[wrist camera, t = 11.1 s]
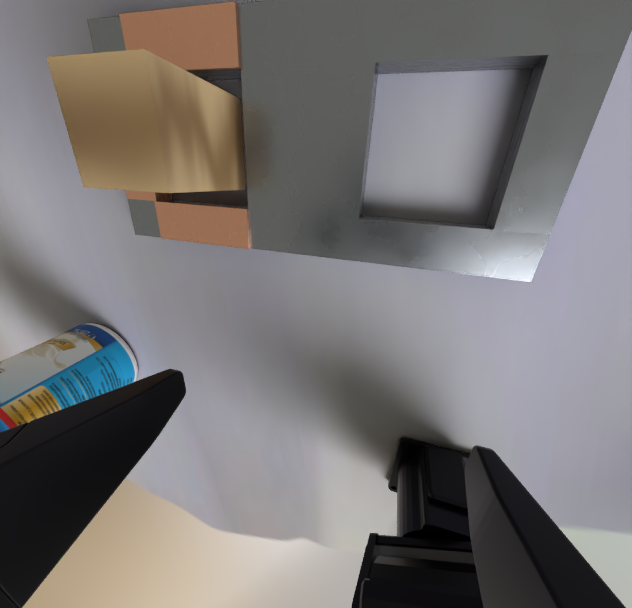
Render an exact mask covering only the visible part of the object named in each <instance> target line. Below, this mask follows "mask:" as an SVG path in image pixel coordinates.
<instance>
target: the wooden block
mask: <svg viewBox="0 0 632 608" xmlns="http://www.w3.org/2000/svg"><path fill="white" fill-rule="evenodd" d="M46 58H47V61H48V64H49V68H50V71H51V75H52V78H53V82H54V85H55V89H56V92H57V96H58V99H59V103H60V106H61V110H62V113H63V117H64V120H65V124H66V127H67V131H68V134H69V138H70V141H71V145H72V148H73V152H74V155H75V159H76V162H77V166H78V169H79V173H80V176H81V180H82V183H83V187H86V188H100V189H115V190H130V191H144V192H159V193H184V192H205V191H227V190H246V181H245V164H244V147H243V130H242V113H241V99H239V98H238V97H236V96H234V95H232V94H230V93H228V92H226V91H224V90H222V89H220V88H218V87H216V86H214V85H213V84H211V83H209V82H207V81H205V80H203V79H201V78H199V77H197V76H195V75H193V74H191V73H189V72H187V71H186V70H184V69H182V68H180V67H178V66H176V65H174V64H172V63H170V62H168V61H166V60H164V59H162V58H161V57H159V56H157V55H155V54H153V53H151V52H149V51H147V50H145V49H139V50H126V51H114V52H101V53H88V54H76V55H63V56H51V57H46Z"/></svg>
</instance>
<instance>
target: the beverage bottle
mask: <svg viewBox="0 0 632 608" xmlns="http://www.w3.org/2000/svg"><path fill="white" fill-rule="evenodd" d="M137 375H138V366H137V362H136V359H135V356H134V354H133V352H132V351H131V349H130V348H129V346H128V345H127V344H126V342H125V341H124V340H123V339H122V338H121V337H120V336H119V335H117V334H116V333H115V332H113V331H112V330H110V329H108V328H107V327H104V326H102V325H99V324H94V323H86V324H82V325H79V326H77V327H75V328H72V329H70V330H69V331H67V332H65V333H63V334H61V335H59V336H57V337H55V338H53V339H51V340H48V341H46V342H44V343H42V344H39V345H37V346H35V347H33V348H30V349H28V350H26V351H23V352H21V353H19V354H17V355H14V356H12V357H10V358H8V359H5V360H3V361H1V362H0V432H3V431H5V430H8V429H11V428H13V427H16V426H19V425H21V424H24V423H29V422H30V421H32V420H35V419H37V418H40V417H43V416H45V415H48V414H51V413H53V412H56V411H59V410H61V409H64V408H67V407H69V406H72V405H75V404H77V403H80V402H83V401H85V400H88V399H91V398H93V397H96V396H99V395H101V394H104V393H107V392H109V391H112V390H115V389H117V388H120V387H123V386H125V385H128V384H131V383H133V382H135V380H136V378H137Z"/></svg>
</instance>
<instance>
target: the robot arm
mask: <svg viewBox="0 0 632 608" xmlns="http://www.w3.org/2000/svg"><path fill="white" fill-rule="evenodd" d="M185 393H186V387H185V382H184V377H183V373H182V372H181V371H178V370H174V369H168V370H165V371H162V372H160V373H157V374H154V375H152V376H149V377H147V378H144V379H141V380H139V381H136V382H133V383H131V384H128V385H125V386H123V387H120V388H117V389H115V390H112V391H109V392H107V393H104V394H101V395H99V396H96V397H93V398H91V399H88V400H85V401H83V402H80V403H77V404H75V405H72V406H69V407H67V408H64V409H61V410H59V411H56V412H53V413H51V414H48V415H45V416H43V417H40V418H37V419H35V420H32V421H30V422H29V423H24V424H21V425H19V426H16V427H13V428H11V429H8V430H5V431H3V432H0V608H22V607H23V606H24V605H25V603H26V602H27V601H28V599H29V598H30V597H31V596H32V595H33V593H34V592H35V591H36V590H37V588H38V587H39V586H40V584H41V583H42V582H43V581H44V579H45V578H46V577H47V575H48V574H49V573H50V572H51V571H52V569H53V568H54V567H55V566H56V564H57V563H58V562H59V560H60V559H61V558H62V557H63V555H64V554H65V553H66V552H67V551H68V549H69V548H70V547H71V546H72V544H73V543H74V542H75V541H76V539H77V538H78V537H79V535H80V534H81V533H82V532H83V530H84V529H85V528H86V527H87V525H88V524H89V523H90V522H91V520H92V519H93V518H94V517H95V515H96V514H97V513H98V512H99V510H100V509H101V508H102V506H103V505H104V504H105V503H106V502H107V500H108V499H109V498H110V496H111V495H112V494H113V493H114V491H115V490H116V489H117V488H118V486H119V485H120V484H121V483H122V481H123V480H124V479H125V478H126V476H127V475H128V474H129V473H130V471H131V470H132V469H133V468H134V466H135V465H136V464H137V463H138V461H139V460H140V459H141V458H142V456H143V455H144V454H145V453H146V451H147V450H148V449H149V448H150V446H151V445H152V444H153V442H154V441H155V440H156V438H157V437H158V436H159V434H160V433H161V431H162V430H163V428H164V427H165V425H166V424H167V422H168V421H169V419H170V418H171V416H172V415H173V413H174V412H175V410H176V409H177V407H178V406H179V404H180V403H181V401H182V400H183V398H184V396H185ZM388 488H389V489H390V490H391V491H394V492H397V536H385V535H378V533H370V536H369V540H368V544H367V546H366V549H365V553H364V557H363V562H362V566H361V570H360V574H359V578H358V582H357V586H356V590H355V594H354V598H353V602H352V608H626V607H625V606H624V605H623V604H622V603H621V601H620V600H619V599H618V598H617V597H616V596H615V594H614V593H613V592H612V591H611V589H610V588H609V587H608V586H607V585H606V584H605V582H604V581H603V580H602V579H601V578H600V576H599V575H598V574H597V573H596V572H595V570H593V568H592V567H591V566H590V564H589V563H588V562H587V561H586V560H585V559H584V557H583V556H582V555H581V554H580V553H579V551H578V550H577V549H576V548H575V547H574V545H573V544H572V543H571V542H570V541H569V540H568V538H567V537H566V536H565V535H564V534H563V532H562V531H561V530H560V529H559V528H558V526H557V525H556V524H555V523H554V522H553V520H552V519H551V518H550V517H549V516H548V515H547V513H546V512H545V511H544V510H543V509H542V507H541V506H540V505H539V504H538V503H537V501H536V500H535V499H534V498H533V497H532V495H531V494H530V493H529V492H528V491H527V490H526V488H525V487H524V486H523V485H522V484H521V482H520V481H519V480H518V479H517V478H516V476H515V475H514V474H513V473H512V472H511V471H510V469H509V468H508V467H507V466H506V465H505V463H504V462H503V461H502V460H501V459H500V457H499V456H498V455H497V454H496V453H495V452H494V451H493V450H492V449H489V448H485V447H481V446H474V447H473V449H472V451H471V453H470V454H467V453H463V452H459V451H455V450H451V449H447V448H443V447H439V446H436V445H432V444H428V443H424V442H420V441H416V440H412V439H409V438H401V439H399V442H398V446H397V450H396V454H395V458H394V462H393V466H392V470H391V474H390V478H389V482H388Z"/></svg>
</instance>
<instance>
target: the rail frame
mask: <svg viewBox="0 0 632 608" xmlns="http://www.w3.org/2000/svg"><path fill="white" fill-rule="evenodd" d="M87 21H88V25H89V30H90V34H91V39H92V43H93V47H94V52H95V53H101V52H114V51H126V50H139V49H145V50H147V51H149V52H151V53H153V54H155V55H157V56H159V57H161V58H162V59H164V60H166V61H168V62H170V63H172V64H174V65H176V66H178V67H180V68H182V69H184V70H186V71H187V72H189V73H191V74H193V75H195V76H197V77H199V78H201V79H203V80H222V79H241V83H242V102H243V121H244V140H245V159H246V178H247V197H248V206H240V205H227V204H215V203H203V202H191V201H179V200H172V194H171V193H159V192H144V191H130V190H126V194H127V199H128V203H129V208H130V212H131V217H132V221H133V226H134V230H135V234H137V235H145V236H153V237H161V238H164V239H172V240H180V241H188V242H197V243H205V244H213V245H221V246H230V247H238V248H246V249H250V248H253V249H261V250H269V251H278V252H286V253H294V254H302V255H311V256H319V257H327V258H336V259H344V260H352V261H360V262H369V263H377V264H385V265H394V266H402V267H410V268H418V269H427V270H435V271H443V272H452V273H460V274H468V275H476V276H485V277H493V278H501V279H510V280H518V281H526V282H531V281H532V278H533V276H534V273H535V271H536V268H537V266H538V263H539V261H540V258H541V256H542V253H543V251H544V248H545V246H546V243H547V241H548V238H549V236H550V233H551V231H552V228H553V226H554V223H555V221H556V218H557V216H558V213H559V211H560V208H561V206H562V203H563V201H564V198H565V196H566V193H567V190H568V188H569V185H570V183H571V180H572V178H573V175H574V173H575V170H576V168H577V165H578V163H579V160H580V158H581V155H582V153H583V150H584V148H585V145H586V143H587V140H588V138H589V135H590V133H591V130H592V128H593V125H594V123H595V120H596V118H597V115H598V113H599V110H600V108H601V105H602V103H603V100H604V98H605V95H606V93H607V90H608V88H609V85H610V83H611V80H612V78H613V75H614V73H615V70H616V68H617V65H618V63H619V60H620V58H621V55H622V53H623V50H624V48H625V45H626V43H627V40H628V38H629V35H630V33H631V30H632V0H268V1H259V2H249V3H240V4H237V3H236V2H235V1H234V2H225V3H216V4H206V5H197V6H188V7H179V8H170V9H160V10H151V11H142V12H133V13H124V14H119V16H117V17H108V18H99V19H89V20H87ZM528 68H533V70H532V73H531V76H530V80H529V83H528V86H527V90H526V93H525V97H524V100H523V103H522V107H521V110H520V113H519V117H518V120H517V123H516V127H515V130H514V133H513V137H512V140H511V143H510V147H509V150H508V153H507V157H506V160H505V163H504V167H503V170H502V173H501V177H500V180H499V183H498V187H497V190H496V193H495V197H494V200H493V203H492V207H491V210H490V213H489V217H488V220H487V224H486V226H483V225H471V224H459V223H447V222H434V221H422V220H410V219H398V218H386V217H374V216H362V209H363V200H364V191H365V182H366V173H367V164H368V156H369V147H370V138H371V129H372V120H373V111H374V103H375V94H376V85H377V76H378V74H389V73H416V72H444V71H472V70H500V69H528Z"/></svg>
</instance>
